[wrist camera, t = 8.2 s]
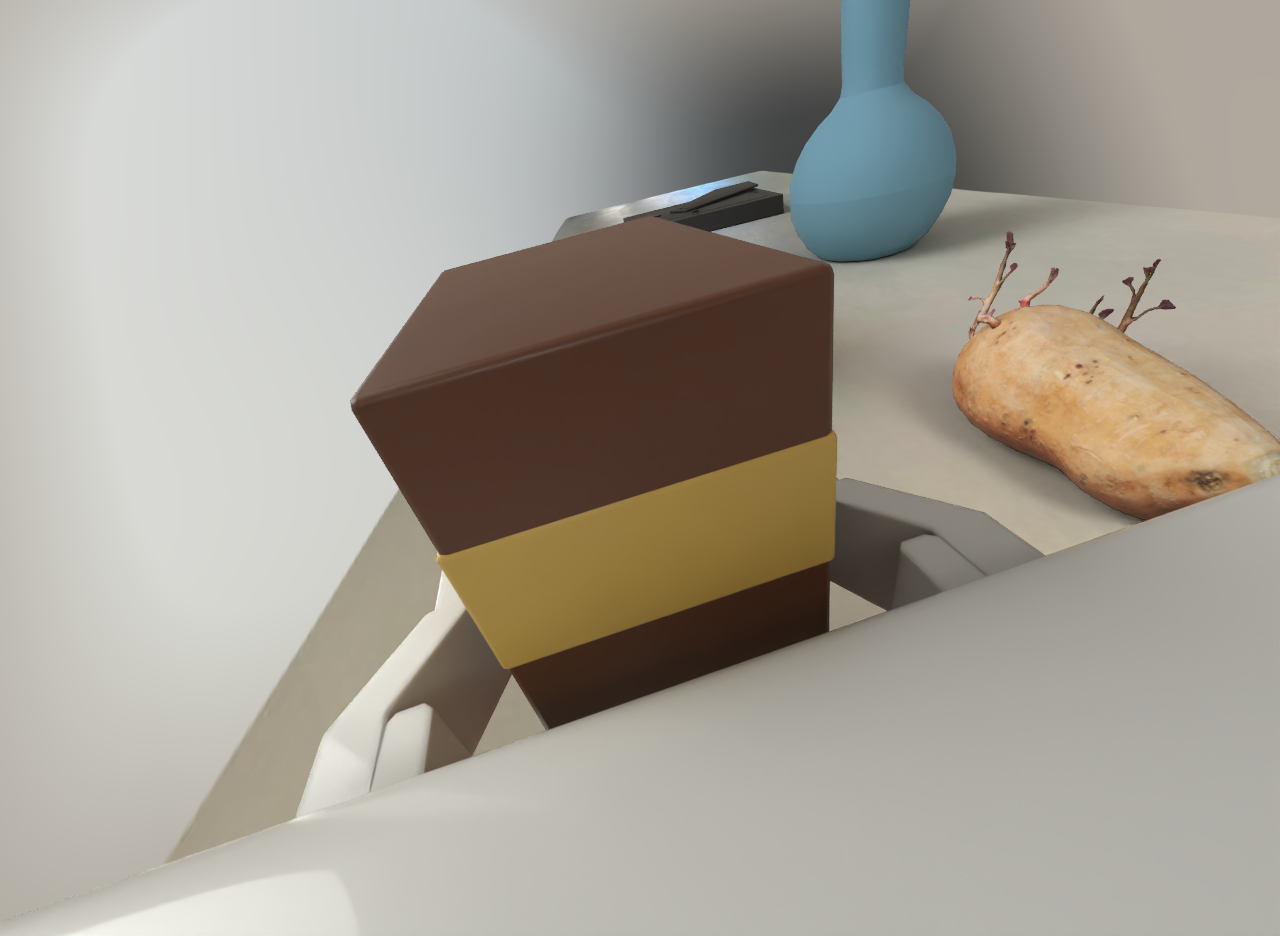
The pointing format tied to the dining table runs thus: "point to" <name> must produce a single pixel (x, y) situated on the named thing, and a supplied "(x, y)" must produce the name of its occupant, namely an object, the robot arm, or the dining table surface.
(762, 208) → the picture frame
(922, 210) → the vase
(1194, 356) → the dining table surface
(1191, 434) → the vegetable
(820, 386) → the chocolate box
